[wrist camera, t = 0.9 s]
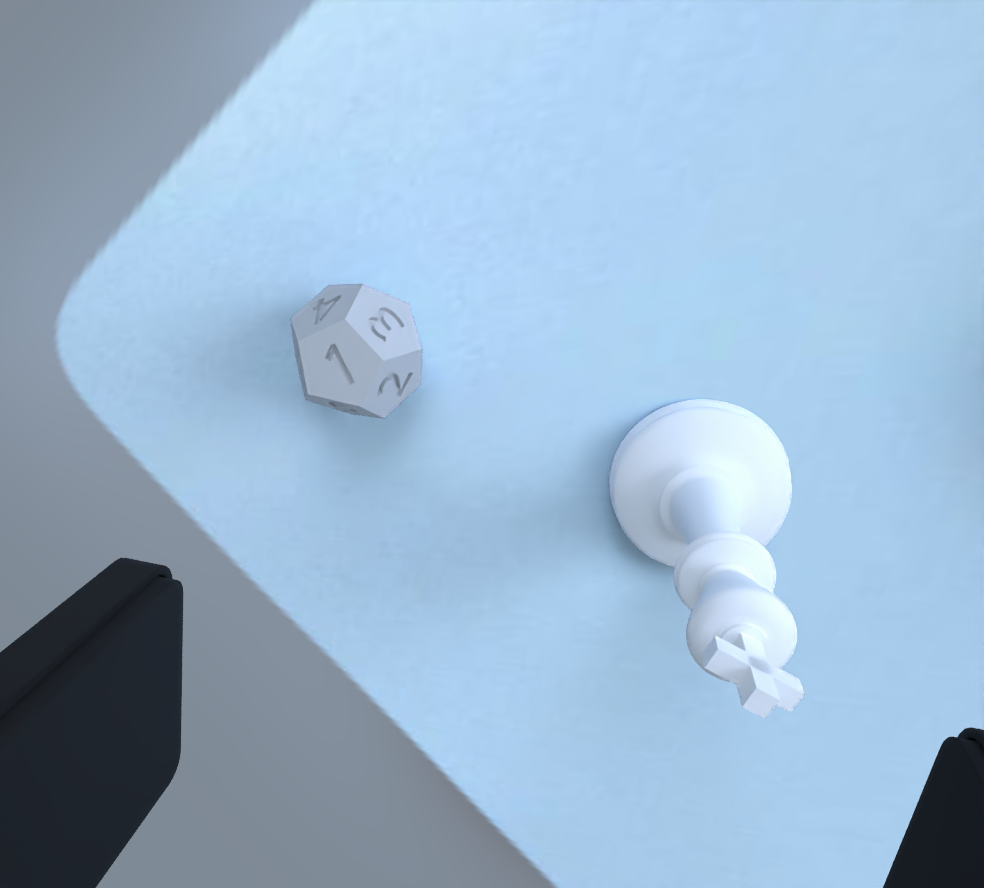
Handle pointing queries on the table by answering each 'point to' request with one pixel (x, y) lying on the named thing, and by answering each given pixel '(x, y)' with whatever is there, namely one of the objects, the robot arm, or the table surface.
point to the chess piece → (715, 536)
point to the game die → (357, 350)
